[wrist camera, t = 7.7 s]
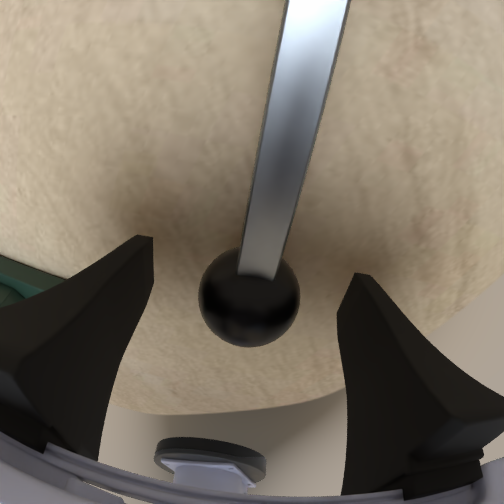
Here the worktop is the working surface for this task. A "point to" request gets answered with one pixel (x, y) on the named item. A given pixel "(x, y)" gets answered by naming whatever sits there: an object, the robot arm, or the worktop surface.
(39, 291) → the button box
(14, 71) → the worktop surface
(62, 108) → the worktop surface
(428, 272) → the worktop surface
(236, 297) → the grey lever handle
